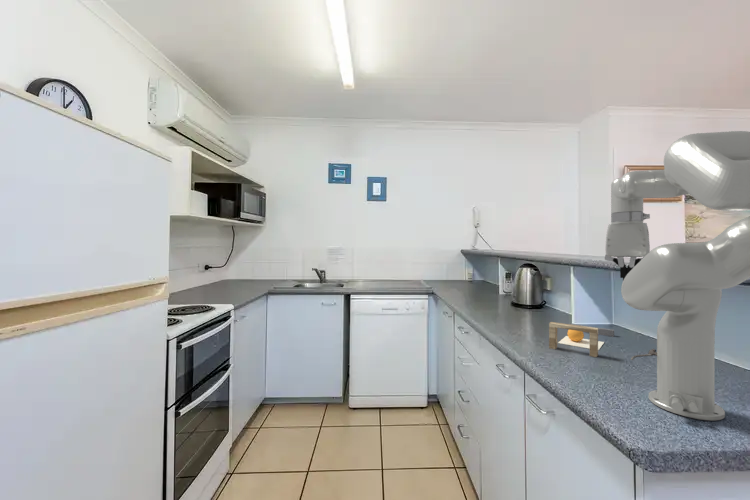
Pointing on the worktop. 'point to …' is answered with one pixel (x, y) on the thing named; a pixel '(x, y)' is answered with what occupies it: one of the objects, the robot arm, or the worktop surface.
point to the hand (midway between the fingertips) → (626, 280)
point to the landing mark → (579, 343)
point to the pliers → (651, 352)
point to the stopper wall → (601, 331)
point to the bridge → (592, 331)
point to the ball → (575, 335)
